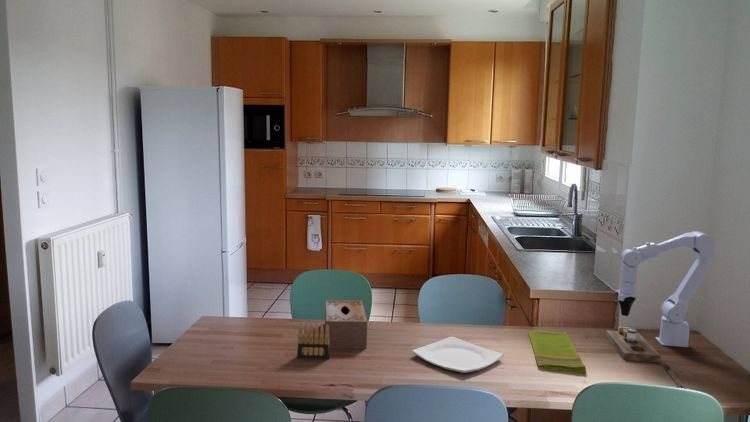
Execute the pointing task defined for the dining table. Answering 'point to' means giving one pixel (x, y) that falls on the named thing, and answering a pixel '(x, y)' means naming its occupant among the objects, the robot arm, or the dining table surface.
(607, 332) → the board
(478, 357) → the plate
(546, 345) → the dish towel
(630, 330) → the peg
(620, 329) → the key
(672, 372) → the tactical tomahawk
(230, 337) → the dining table surface
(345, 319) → the tissue box cover
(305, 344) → the ammunition clip
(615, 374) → the dining table surface
